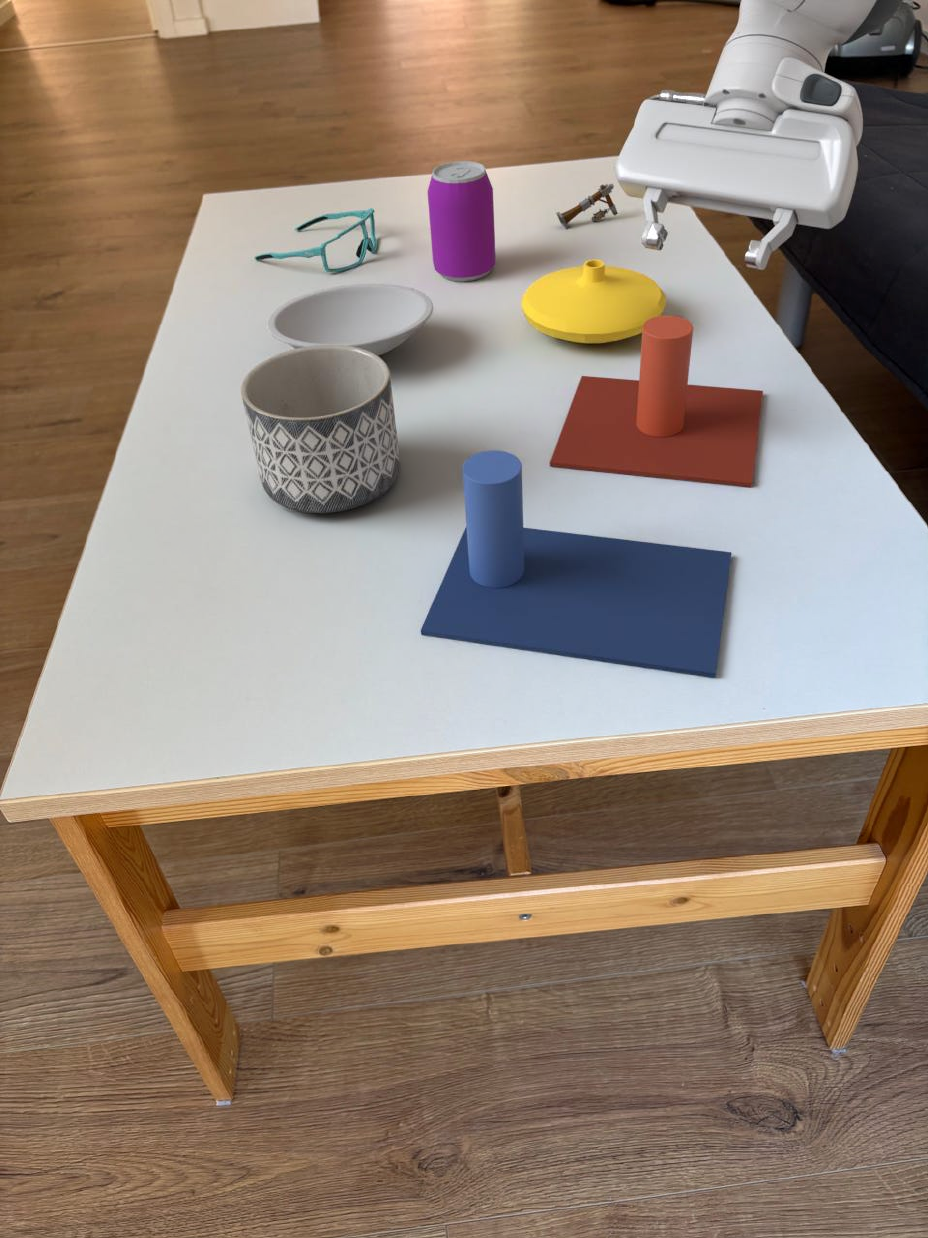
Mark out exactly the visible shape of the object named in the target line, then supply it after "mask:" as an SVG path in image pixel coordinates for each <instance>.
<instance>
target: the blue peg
mask: <svg viewBox="0 0 928 1238" xmlns="http://www.w3.org/2000/svg"><path fill="white" fill-rule="evenodd" d="M462 482H463V497H464V510H465V511H464V512H465V528H466V527H467V542H468V556H469V570H470V575H471V577H472V579H473V580H474V581H475V582H476V583H478V584H480V585H482V586H485V587H490V588H502V587H507V586H510V585H512V584H514V583H516V582H517V581H518V580H519V579H520V578H521V577H522V575H523V573H524V537H523V528H524V499H523V498H524V497H523V496H524V495H523V465H522V462H521V460H520V458H518V457H517V456H516V455H515V454H513V453H510V452H507V451H503V450H497V449H495V450H494V449H493V450H484V451H480V452H477V453H474V454H473V455H471V456H469V457H467V459H466V460H465V461H464V462H463V464H462Z"/></svg>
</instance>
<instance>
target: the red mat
mask: <svg viewBox="0 0 928 1238" xmlns="http://www.w3.org/2000/svg"><path fill="white" fill-rule="evenodd" d="M638 391H639V379H637V380H636V379H628V378H627V379H624V378H615V377H613V378H612V377H601V376H591V375H590V376H589V375H581V377H580V380H579V382H578V385H577V387H576V390H575V393H574V395H573V398H572V402H571V403H570V407H569V409H568V412H567V414H566V417H565V420H564V423H563V425H562V427H561V431H560V434H559V436H558V439H557V441H556V445H555V447H554V450H553V452H552V455H551V458H550V460H549V467H552V468H561V469H571V470H579V471H581V470H582V471H589V472H601V473H609V474H619V475H620V474H621V475H629V476H638V477H646V478H647V477H649V478H650V477H651V478H656V479H657V478H658V479H665V480H666V479H667V480H676V481H677V480H678V481H688V482H694V483H695V482H696V483H697V482H698V483H705V484H715V485H725V486H733V487H734V486H735V487H743V488H753V483H754V482H753V481H754V475H755V464H756V458H757V457H756V455H757V447H758V439H759V431H760V430H759V429H760V422H761V412H762V405H763V395H764V391H763V390H759V389H746V388H736V387H735V388H734V387H722V386H712V385H711V386H710V385H698V384H688V386H687V396H686V406H685V415H684V425H683V428H682V430H681V431H680V432H679V433H677V434H675V435H672V436H668V437H654V436H650V435H647V434H644V433H643V432H641V431H640V430H639V429H638V428H637V425H636V422H637V406H638Z"/></svg>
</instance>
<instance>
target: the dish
mask: <svg viewBox="0 0 928 1238" xmlns="http://www.w3.org/2000/svg"><path fill="white" fill-rule="evenodd" d="M433 312H434V304H433V301H432V299H431V298H430V297H429V296H428V295H426V294H425V293H424V292H421V291H420V290H418V289H414V288H411V287H408V286H403V285H397V284H390V283H357V284H356V283H354V284H346V285H340V286H333V287H327V288H323V289H320V290H319V289H318V290H315V291H312V292H308V293H305V294H302V295H300V296H298V297H295V298H293V299H291V300H289V301H287V302H284V303H283V304H281V305H280V306H278V307H277V308H276V309H275V310H274V311H273V312H272V313H271V314H270V315H269V317H268V319H267V321H266V327H267V330H268V332H269V334H270V335H271V336H272V337H273V338H274V339H276V340H277V341H279V342H281V343H284V344H287V345H289V346H291V347H292V348H293V349H298V348H303V347H309V346H317V345H344V346H351V347H356V348H360V349H364V350H367V351H369V352H371V353H373V354H375V355H377V356H378V357H380V356H381V355H384V354H386V353H388V352H391V351H392V350H394V349H396V348H397V347H398V346H401V345H402V344H403V343H404V342H405V341H407V340H408V339H409V338H410V337H411V336H412V335H413V334H414V333H415V332H416V331H417V330H418V328H420V327H422V326H423V325H424V324H425V323H426V322H427V321H428V320H429V319H430V318H431V316H432V315H433Z"/></svg>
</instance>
